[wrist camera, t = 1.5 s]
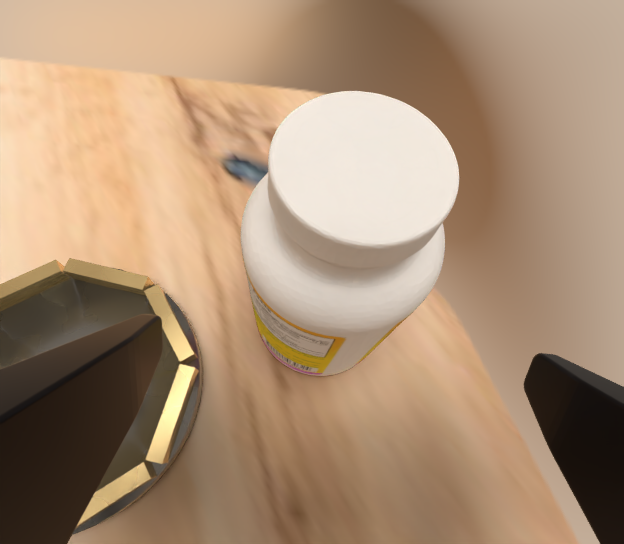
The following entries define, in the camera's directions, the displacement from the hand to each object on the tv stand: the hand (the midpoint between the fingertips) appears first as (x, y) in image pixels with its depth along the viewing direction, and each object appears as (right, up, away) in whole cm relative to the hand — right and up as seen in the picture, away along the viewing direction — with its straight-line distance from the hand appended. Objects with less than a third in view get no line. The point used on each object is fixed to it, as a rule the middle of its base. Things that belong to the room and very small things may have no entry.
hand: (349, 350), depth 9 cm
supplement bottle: (-1, -1, +12) cm, 12 cm away
